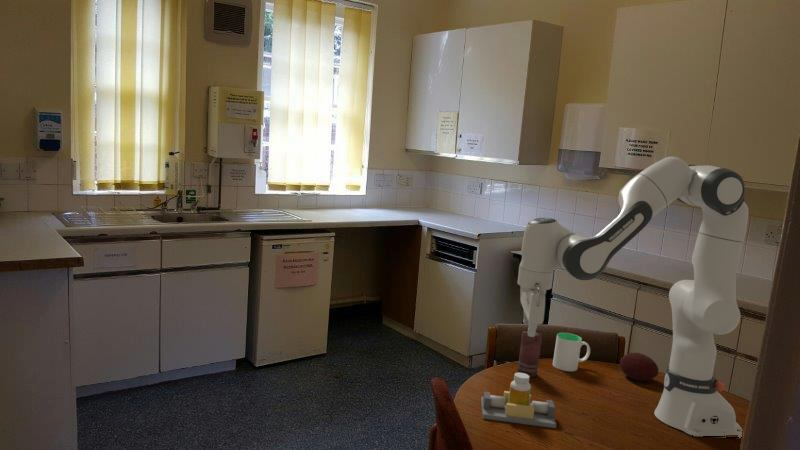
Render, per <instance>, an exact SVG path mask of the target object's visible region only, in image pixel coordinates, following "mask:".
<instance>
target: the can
mask: <svg viewBox="0 0 800 450" xmlns="http://www.w3.org/2000/svg"><path fill="white" fill-rule="evenodd" d="M527 332H528V329H524V330H523V331H522V334H521V342H520V349H519V358H518V365H517V373H525V374H527V375H529V379H530V378H535V377H536V376H537V375H538V367H539V360H540V354H541V348H542V341H543V340H542V339H543V335H542V332H540V331H538V330H536V332H535V336H534V337H529V336H528V333H527Z"/></svg>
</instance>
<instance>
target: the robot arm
mask: <svg viewBox="0 0 800 450" xmlns="http://www.w3.org/2000/svg"><path fill="white" fill-rule="evenodd" d="M618 193H619V194H618V206H619V208H620V212H619V214H618V215H617V216H616V217H615V218H614V219H613V220H612V221H611V222H610V223H609V224H608V225H606V226H605V227H604V228H603V229H602V230H600V232H598V233H597V234H595V235H594V236H592V237H591V236H590V237H585V236H584V235H582V234H579V233H577V232H574V231H572V230H570V229H568V228H567V227H565V226H563V225H562V224H561V223H560V222H558V220H556V219H555V218H551V217H537V218H534V219H531V220H529V221H528V222H527V223H526V226H525V228H524V233H523V237H522V244H521V249H520V251H521V260H520V263H519V266H518V273H517V275H518V276H517V282H516V284H517V285H518V286H519V287H520V290H519V293H520V295H519V299H520V304H521V307H522V308H523V320H522V321H523V325H524V326H528V327H527V330H528V332H527V333H528V336H529V337H534V336H535V332H536V331H537V328H538V326H539V325H543V324H544V320H545V311H546V295H547V291H549V290H551V289H552V288H553V279H554V270H555V268H556V267H558V268H559V267H560V268H562V269H564V270H565V271H566V272H568V273H569V274H570V275H571V276H572V277H573V278H574V279H577V280H580V281H591V280H593V279H596V278H597V277H599V276H600V275H601V274H603V272H604V270H606V268H607V266H608V264H609V262H610V261H611V260H612V258H613V257H614V256H615V255H616V254H617V253H618V252H619V251H620V250H621V249H623V248H624V246H625V245H627V244H628V243H630V242H631V241H632V240H633V239H634V238H635V237H636V236H637V235H638V234H639V233H640V232H641V231H642V230H643V229H645V227H646V226H647V225H648V224H649V223H650V222H651V220H652V219H653V218H654V217H655V216H657V214H660V212H662V211H663V210H664V209H666V208H667V207H668V206H669V205H670V204H672V202H674V201H675V200H677V201H678V202H681V203H684V204H688V205H690V206H693V207H696V208H701V210H702V211H701V212H702V220H701V224H700V226H699V230H698V233H697V237H696V240H695V244H694V249H693V251H692V252H693V253H692V257H691V264H692V267H693V279H682V280H678V281H677V282H675V283H674V284H673V285H672V286H671V287H670V289H669V291H668V292H669V293H668V300H669V303H670V307H671V315H672V316H671V317H672V318H671V319H672V345H671V351H670V352H671V353H670V359H669V365H668V366H667V367H666V371H665V375H664V380H663V391H662V393H661V397H660V399H659V401H658V404H657V407H655V410H654V416H655V417H656V418H657V419H658V420H659V421H660V422H662V423H663V424H665V425H667V426H670V427H673V428H675V429H677V430H680V431H682V432H684V433H686V434H688V435H689V436H692V435H693V437H703V436H724V435H725V436H726V435H738V437H739V438H738V439H742V438H741V437H742V431H743V432H744V429H743V428H742V426H740V425H739V423H738V422H736V421H737V420H736V419H737V417H736V412H735V409H734V408H733V406H732V405H731V403H730V402H728V401H727V400H726V398H725V397H723V396H722V394H721V393H719V391H720V392H722V391H724V390H725V389H726V385H725V384H724V383H723V382H722V381H719V380H718V379H717V378H716V377H715V376H714V375H713V374H714V371H715V369H714V368H715V364H716V359H717V353H718V352H717V351H718V350H717V345H716V342H715V340H714V339H715V338H714V335H719V336H721V335H722V336H723V335H727V334H729V333H731V332H733V331H734V330H735V329H736V328H737V327H738V325H739V324H740V323H741V311H740V309H739V306H738V303H737V283H736V282H737V271H738V265H739V261H740V258H741V254H742V250H743V247H744V242H745V239H746V235H747V231H748V230H747V229H748V222H749V207H748V204H747V203H746V202H745V194H746V187H745V182H744V179H743V177H742V176H741V175H740V174H739V173H738V172H736V171H734V170H732V169H729V168H724V167H718V166H714V165H710V164H709V165H707V164H706V165H696V164H688V163H687V162H685V160H684V159H682V158H681V157H677V156H666V157H664V158H662V159H659V160H658V161H656V162H654V163H653V164H651V165H650V166H647V167H646V168H645V169H643V170H642V171H640V172H639V173H637V174H636V175H635V176H633V177H632V178H631V179H630V180H628V182H626V184H625V185H624V186H622V188H621V189H620V190H619V192H618ZM718 390H719V391H718ZM737 430H739V431H737Z"/></svg>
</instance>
